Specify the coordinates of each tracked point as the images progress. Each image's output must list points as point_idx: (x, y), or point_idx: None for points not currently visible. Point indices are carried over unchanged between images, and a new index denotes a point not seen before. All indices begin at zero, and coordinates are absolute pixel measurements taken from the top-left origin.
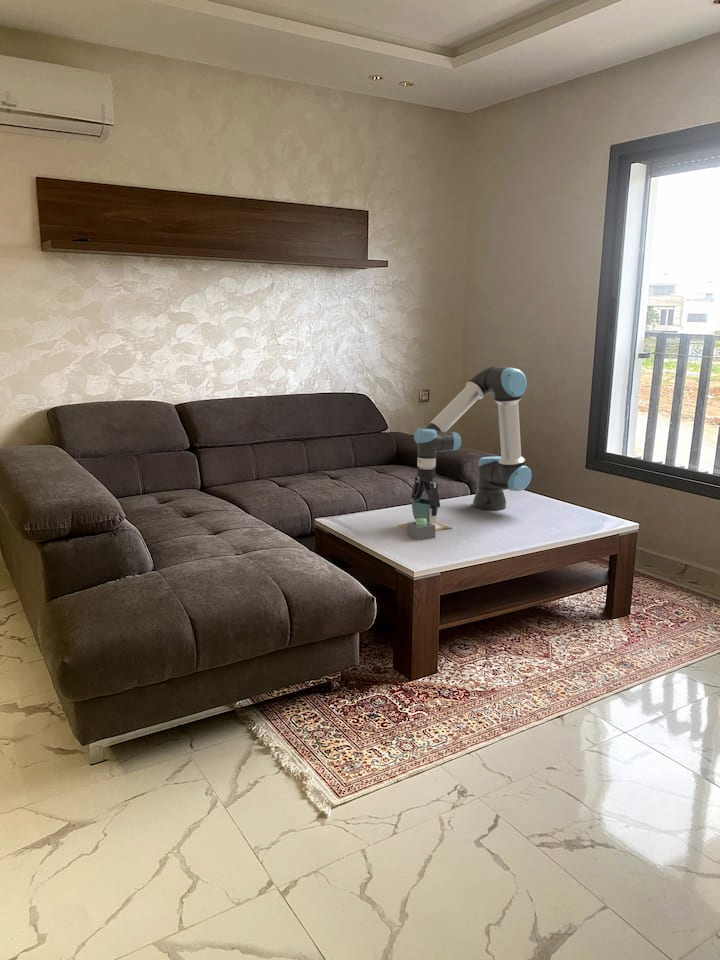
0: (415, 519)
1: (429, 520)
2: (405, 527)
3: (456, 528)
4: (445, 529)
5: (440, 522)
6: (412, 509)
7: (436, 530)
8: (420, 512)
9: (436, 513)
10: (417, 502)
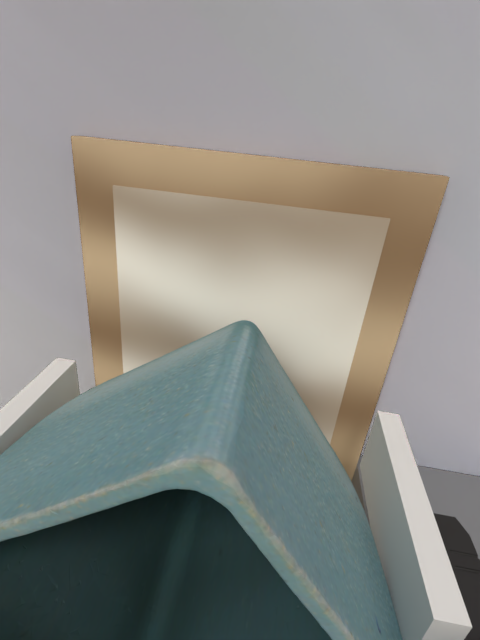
0: (201, 495)
1: (368, 492)
2: None
3: (471, 97)
4: (418, 261)
5: (195, 150)
6: (158, 624)
7: (387, 359)
8: (252, 584)
9: (267, 349)
10: (21, 598)
